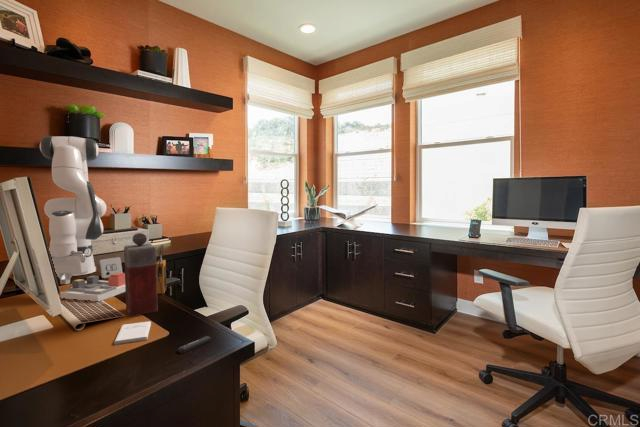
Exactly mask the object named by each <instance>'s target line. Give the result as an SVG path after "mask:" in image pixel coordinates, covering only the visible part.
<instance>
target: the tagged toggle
mask: <svg viewBox="0 0 640 427" xmlns="http://www.w3.org/2000/svg"><path fill="white" fill-rule="evenodd" d="M85 283H86V280H85V279H82V278H81V279H74V280H72V281H71V288H81V289H84V288H85Z"/></svg>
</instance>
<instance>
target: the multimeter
mask: <svg viewBox="0 0 640 427" xmlns="http://www.w3.org/2000/svg"><path fill="white" fill-rule="evenodd" d="M158 250H159V252H158V257H159V259H158V261H156V267H157V298H160V297H162V296H163V294H165V292H166V290H167V272H166V271H167V266H166V265H167V263H166V262H167V260H166V259H164V258H163V257H164V255H163V254H164V250H163V245H160V246H159V247H158Z"/></svg>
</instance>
